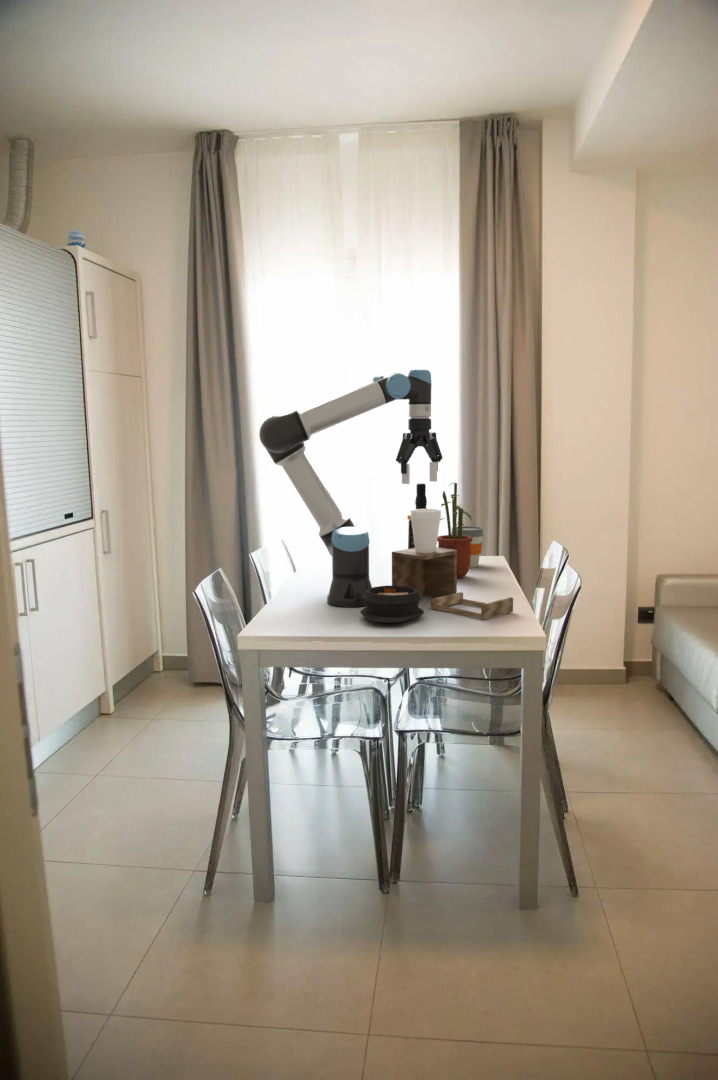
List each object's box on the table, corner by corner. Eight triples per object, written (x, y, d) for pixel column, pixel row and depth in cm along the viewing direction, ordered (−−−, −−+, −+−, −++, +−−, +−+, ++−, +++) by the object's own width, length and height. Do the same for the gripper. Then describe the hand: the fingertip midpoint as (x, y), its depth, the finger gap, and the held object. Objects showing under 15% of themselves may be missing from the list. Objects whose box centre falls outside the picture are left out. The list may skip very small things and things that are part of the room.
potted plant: (474, 580, 292) (475, 483, 287) (431, 580, 292) (431, 483, 287) (468, 571, 309) (469, 480, 304) (427, 572, 310) (428, 480, 305)
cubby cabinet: (422, 608, 249) (422, 556, 247) (392, 602, 258) (391, 551, 256) (456, 600, 260) (456, 550, 258) (426, 594, 269) (426, 546, 267)
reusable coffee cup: (487, 564, 325) (488, 527, 323) (474, 569, 314) (475, 531, 312) (459, 562, 332) (459, 525, 329) (445, 566, 321) (445, 529, 319)
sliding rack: (483, 619, 233) (484, 605, 232) (430, 608, 247) (430, 595, 247) (512, 611, 242) (513, 597, 242) (460, 601, 257) (460, 588, 256)
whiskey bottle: (412, 558, 340) (412, 482, 336) (435, 559, 337) (435, 482, 333) (406, 562, 331) (405, 484, 326) (429, 564, 328) (429, 484, 323)
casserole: (370, 607, 251) (370, 580, 250) (430, 610, 247) (430, 583, 246) (350, 627, 227) (350, 597, 226) (416, 630, 223) (416, 600, 222)
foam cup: (441, 549, 260) (441, 508, 258) (440, 553, 251) (440, 512, 249) (411, 549, 261) (411, 508, 259) (409, 553, 252) (409, 511, 250)
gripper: (401, 417, 255) (402, 485, 258) (453, 417, 272) (452, 480, 275) (384, 418, 261) (385, 484, 264) (436, 417, 278) (435, 480, 281)
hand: (419, 482), depth 269 cm, fingers open, 13 cm apart
